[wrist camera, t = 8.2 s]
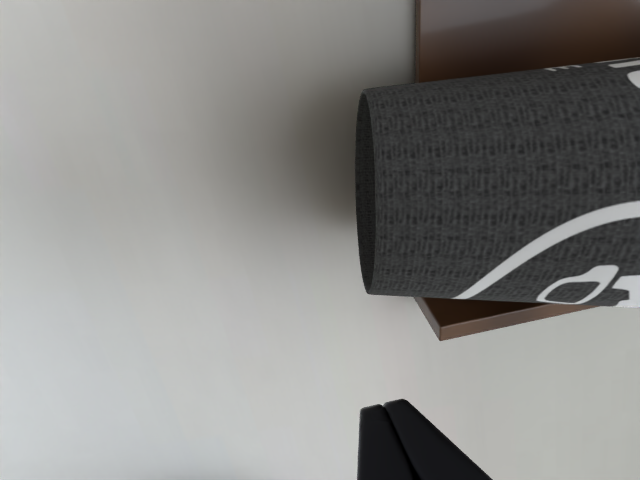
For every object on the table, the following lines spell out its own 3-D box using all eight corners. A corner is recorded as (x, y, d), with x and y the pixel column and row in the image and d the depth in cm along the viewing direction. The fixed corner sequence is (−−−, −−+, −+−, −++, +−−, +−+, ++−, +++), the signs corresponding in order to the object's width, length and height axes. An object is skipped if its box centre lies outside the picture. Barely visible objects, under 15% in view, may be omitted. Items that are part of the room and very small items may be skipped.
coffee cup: (350, 228, 23) (678, 217, 23) (373, 410, 16) (862, 393, 16) (354, 0, 17) (789, -12, 18) (395, 111, 10) (1164, 88, 10)
